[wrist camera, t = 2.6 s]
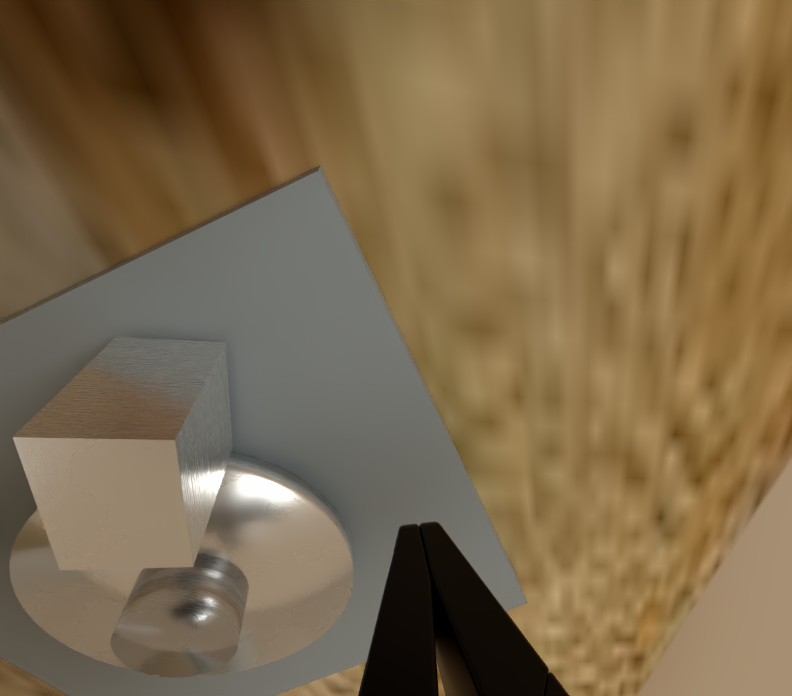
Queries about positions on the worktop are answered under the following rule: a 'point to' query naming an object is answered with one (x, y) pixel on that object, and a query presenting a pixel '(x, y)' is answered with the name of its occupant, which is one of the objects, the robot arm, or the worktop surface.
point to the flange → (170, 523)
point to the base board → (258, 413)
